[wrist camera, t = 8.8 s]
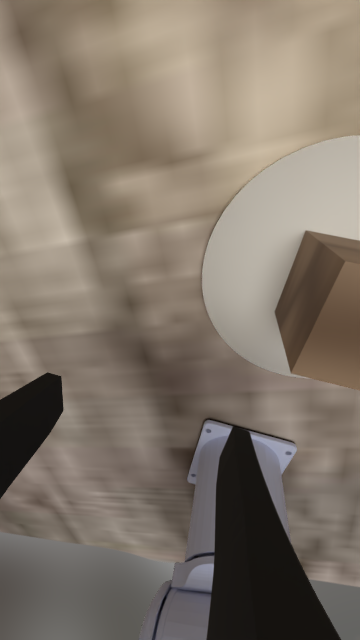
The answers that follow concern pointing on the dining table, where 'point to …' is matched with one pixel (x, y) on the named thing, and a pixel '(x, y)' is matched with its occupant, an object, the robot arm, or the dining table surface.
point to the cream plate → (276, 242)
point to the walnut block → (323, 310)
